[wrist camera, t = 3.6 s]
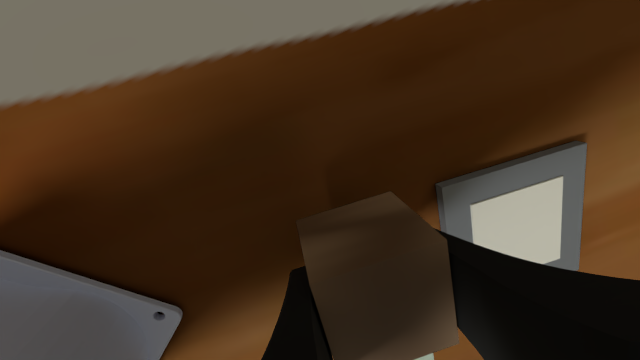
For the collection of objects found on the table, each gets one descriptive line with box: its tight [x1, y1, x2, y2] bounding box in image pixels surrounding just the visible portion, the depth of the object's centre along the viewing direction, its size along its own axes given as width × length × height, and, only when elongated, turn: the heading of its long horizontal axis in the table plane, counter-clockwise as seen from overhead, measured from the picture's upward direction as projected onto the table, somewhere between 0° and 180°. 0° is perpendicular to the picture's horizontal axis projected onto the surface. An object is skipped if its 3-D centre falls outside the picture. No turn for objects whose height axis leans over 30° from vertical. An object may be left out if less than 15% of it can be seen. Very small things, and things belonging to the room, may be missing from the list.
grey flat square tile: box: [435, 141, 587, 271], centre depth 16 cm, size 8×8×1 cm
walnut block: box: [296, 191, 459, 360], centre depth 11 cm, size 4×4×4 cm
